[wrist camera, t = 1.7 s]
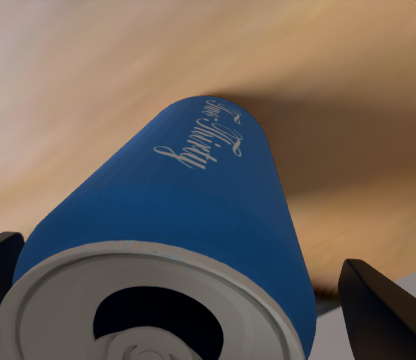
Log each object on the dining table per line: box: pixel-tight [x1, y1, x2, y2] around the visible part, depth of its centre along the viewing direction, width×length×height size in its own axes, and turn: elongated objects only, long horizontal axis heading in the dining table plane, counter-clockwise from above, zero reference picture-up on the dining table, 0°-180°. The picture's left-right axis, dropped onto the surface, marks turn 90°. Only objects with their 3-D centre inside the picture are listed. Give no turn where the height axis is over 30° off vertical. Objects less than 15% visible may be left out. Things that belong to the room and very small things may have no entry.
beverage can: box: [0, 96, 317, 360], centre depth 11 cm, size 6×6×12 cm
